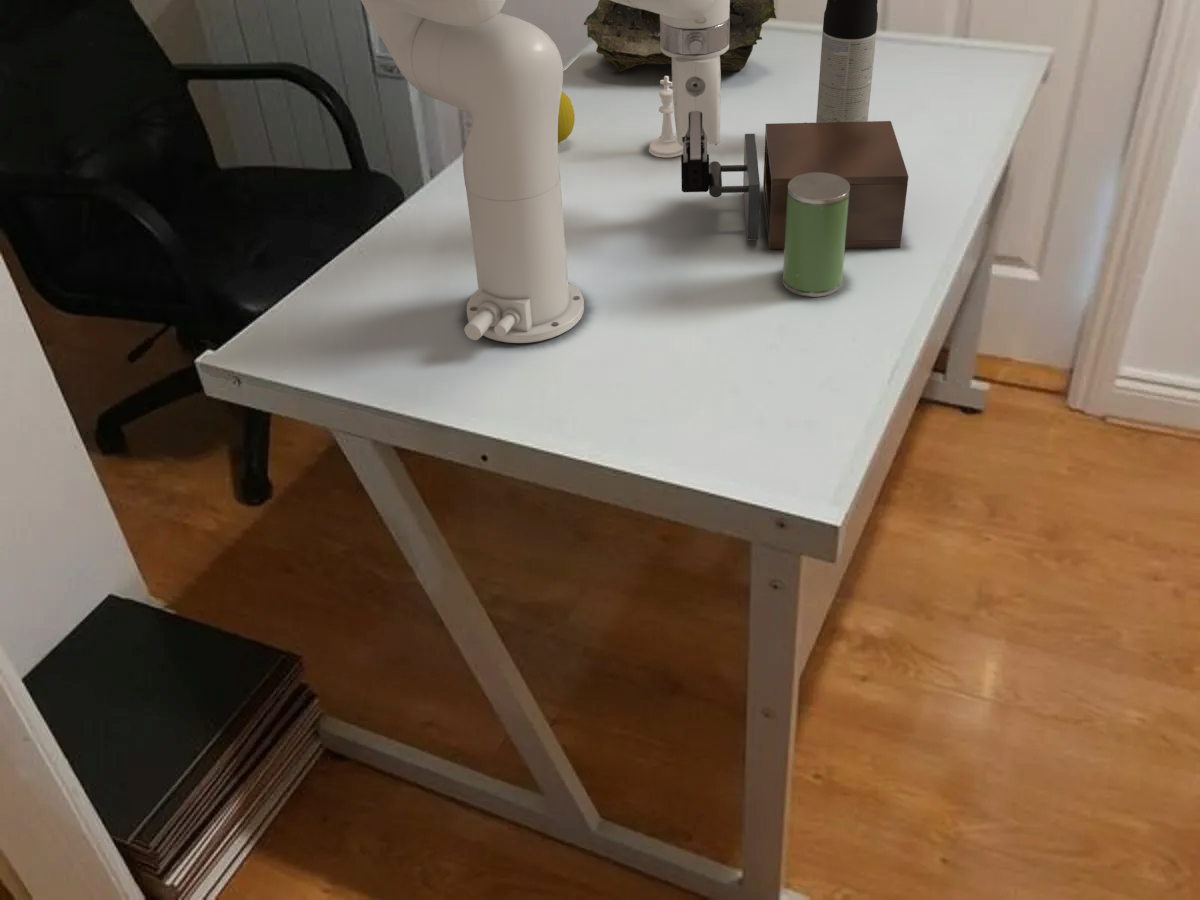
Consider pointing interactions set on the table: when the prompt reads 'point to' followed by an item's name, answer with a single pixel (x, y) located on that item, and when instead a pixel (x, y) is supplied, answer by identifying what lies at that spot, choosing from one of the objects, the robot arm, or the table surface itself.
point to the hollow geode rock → (637, 33)
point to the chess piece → (666, 126)
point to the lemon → (565, 118)
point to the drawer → (744, 184)
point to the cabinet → (851, 154)
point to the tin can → (815, 233)
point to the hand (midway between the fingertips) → (695, 188)
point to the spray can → (847, 60)
